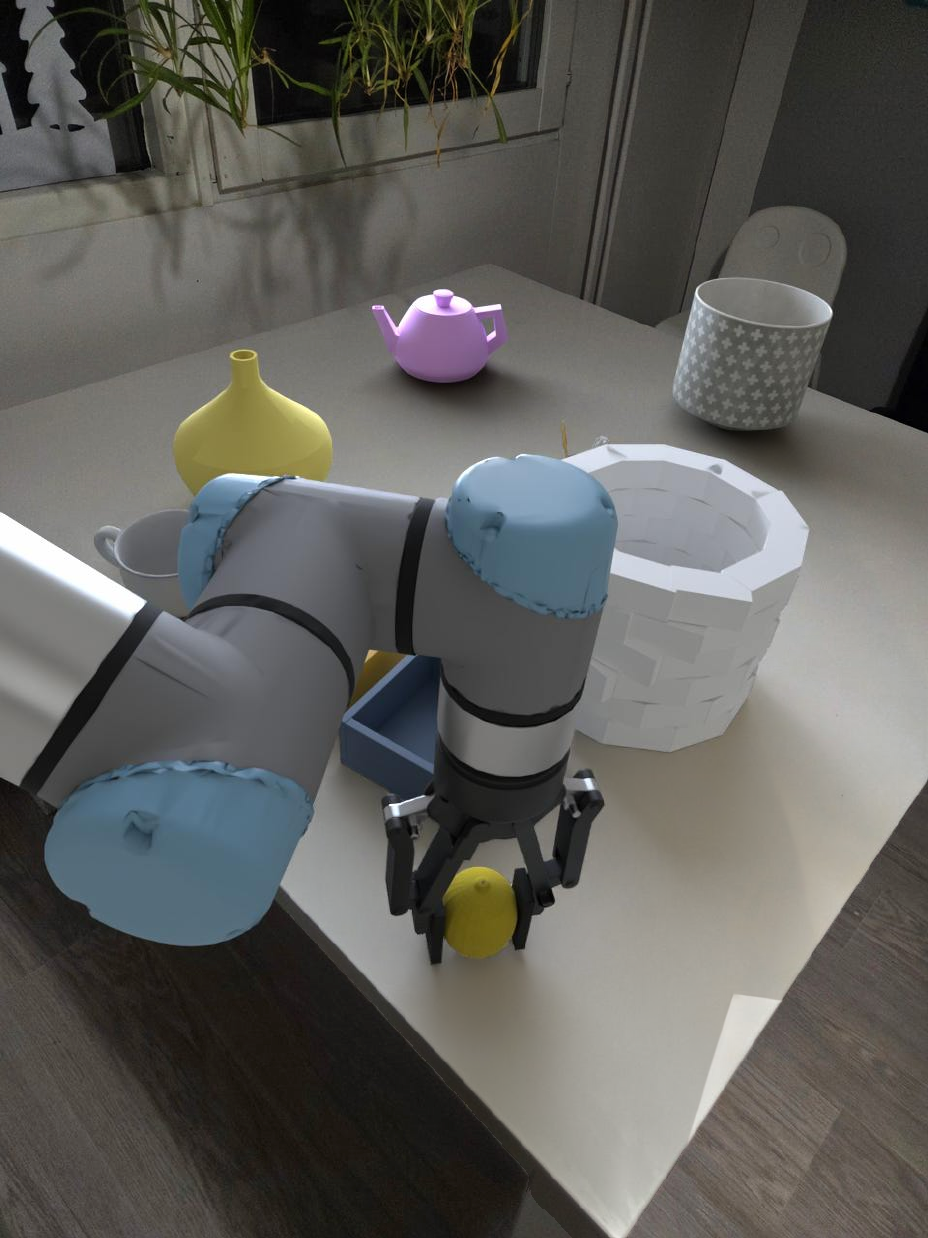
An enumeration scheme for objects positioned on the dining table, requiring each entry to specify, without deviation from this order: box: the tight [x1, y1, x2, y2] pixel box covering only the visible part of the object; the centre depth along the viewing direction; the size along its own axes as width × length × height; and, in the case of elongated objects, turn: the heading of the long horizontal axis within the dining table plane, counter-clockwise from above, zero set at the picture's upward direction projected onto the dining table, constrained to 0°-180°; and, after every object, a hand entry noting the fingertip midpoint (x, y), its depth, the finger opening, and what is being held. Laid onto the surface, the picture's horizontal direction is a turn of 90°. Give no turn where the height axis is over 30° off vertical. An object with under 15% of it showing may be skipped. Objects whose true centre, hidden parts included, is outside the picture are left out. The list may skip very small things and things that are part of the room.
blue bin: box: [338, 654, 441, 802], centre depth 73 cm, size 14×14×6 cm
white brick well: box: [560, 443, 811, 753], centre depth 78 cm, size 25×24×19 cm
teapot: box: [372, 289, 510, 384], centre depth 132 cm, size 22×16×12 cm
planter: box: [671, 277, 834, 432], centre depth 122 cm, size 19×19×18 cm
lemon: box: [442, 866, 518, 959], centre depth 58 cm, size 6×6×8 cm
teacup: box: [93, 508, 190, 619], centre depth 86 cm, size 14×11×8 cm
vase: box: [172, 349, 334, 498], centre depth 96 cm, size 18×18×19 cm
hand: (474, 939), depth 60 cm, fingers closed on lemon, 5 cm apart
